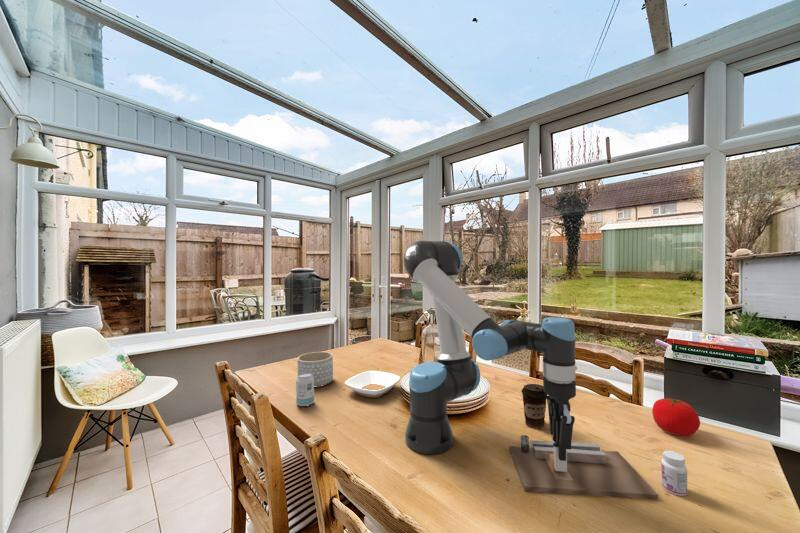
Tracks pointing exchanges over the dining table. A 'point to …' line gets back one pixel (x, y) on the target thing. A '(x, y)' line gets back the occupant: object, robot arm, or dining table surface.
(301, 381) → the beverage can
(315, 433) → the dining table surface
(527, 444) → the bar
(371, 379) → the bowl
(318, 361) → the planter
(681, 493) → the pill bottle
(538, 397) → the coffee cup
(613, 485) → the board
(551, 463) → the block
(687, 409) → the tomato
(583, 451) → the bar
